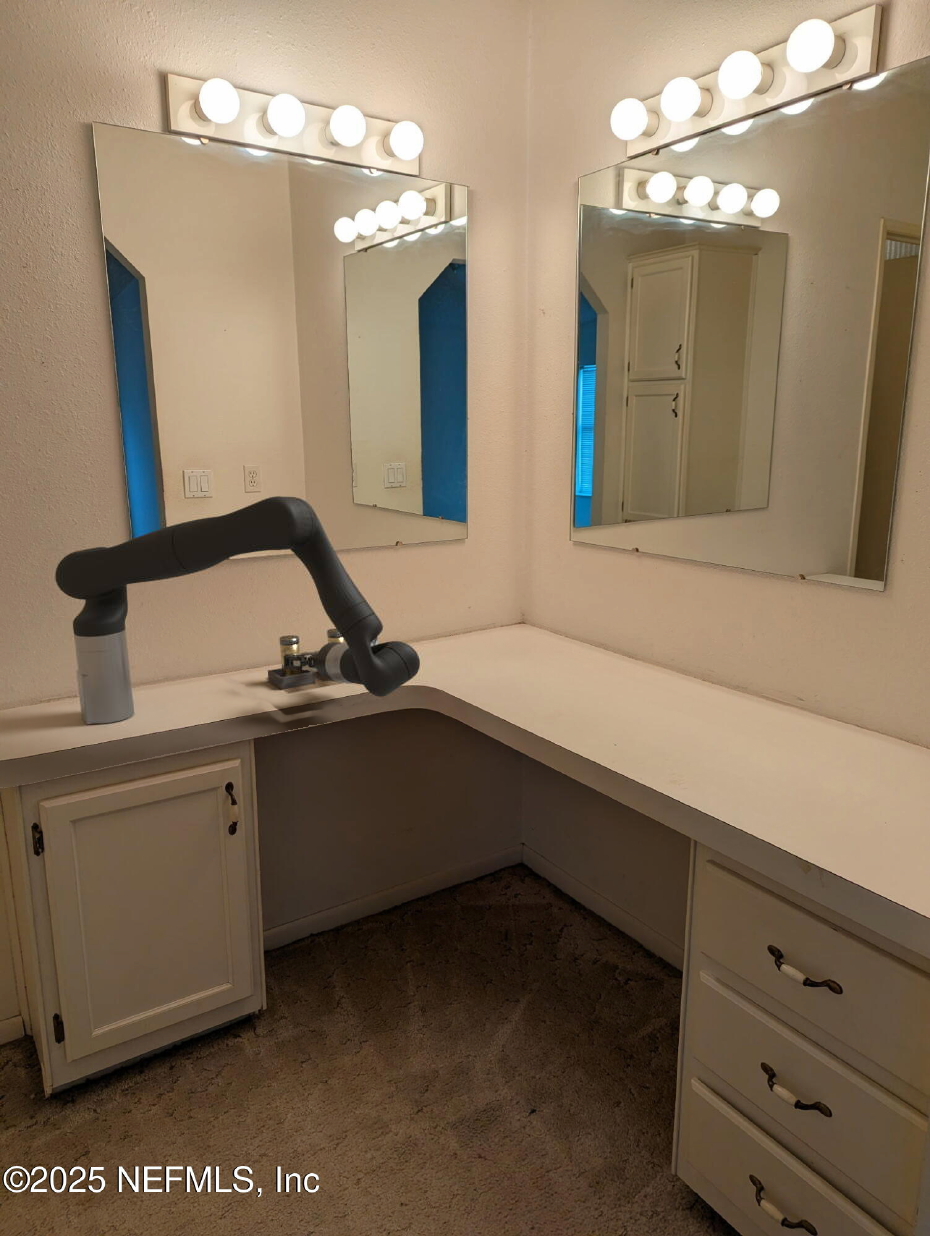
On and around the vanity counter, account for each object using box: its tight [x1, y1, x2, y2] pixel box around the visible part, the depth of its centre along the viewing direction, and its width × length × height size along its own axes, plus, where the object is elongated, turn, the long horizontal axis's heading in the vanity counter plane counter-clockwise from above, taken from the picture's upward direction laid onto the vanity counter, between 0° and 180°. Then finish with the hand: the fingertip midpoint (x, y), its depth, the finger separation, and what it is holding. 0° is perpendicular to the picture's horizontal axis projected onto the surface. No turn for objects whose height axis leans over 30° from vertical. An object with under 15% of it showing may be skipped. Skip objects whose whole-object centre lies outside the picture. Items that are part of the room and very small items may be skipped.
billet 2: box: [326, 627, 346, 644], centre depth 187 cm, size 4×4×10 cm
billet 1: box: [279, 634, 301, 677], centre depth 181 cm, size 4×4×10 cm
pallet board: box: [265, 667, 343, 694], centre depth 185 cm, size 19×14×4 cm
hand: (306, 658), depth 172 cm, fingers open, 8 cm apart
